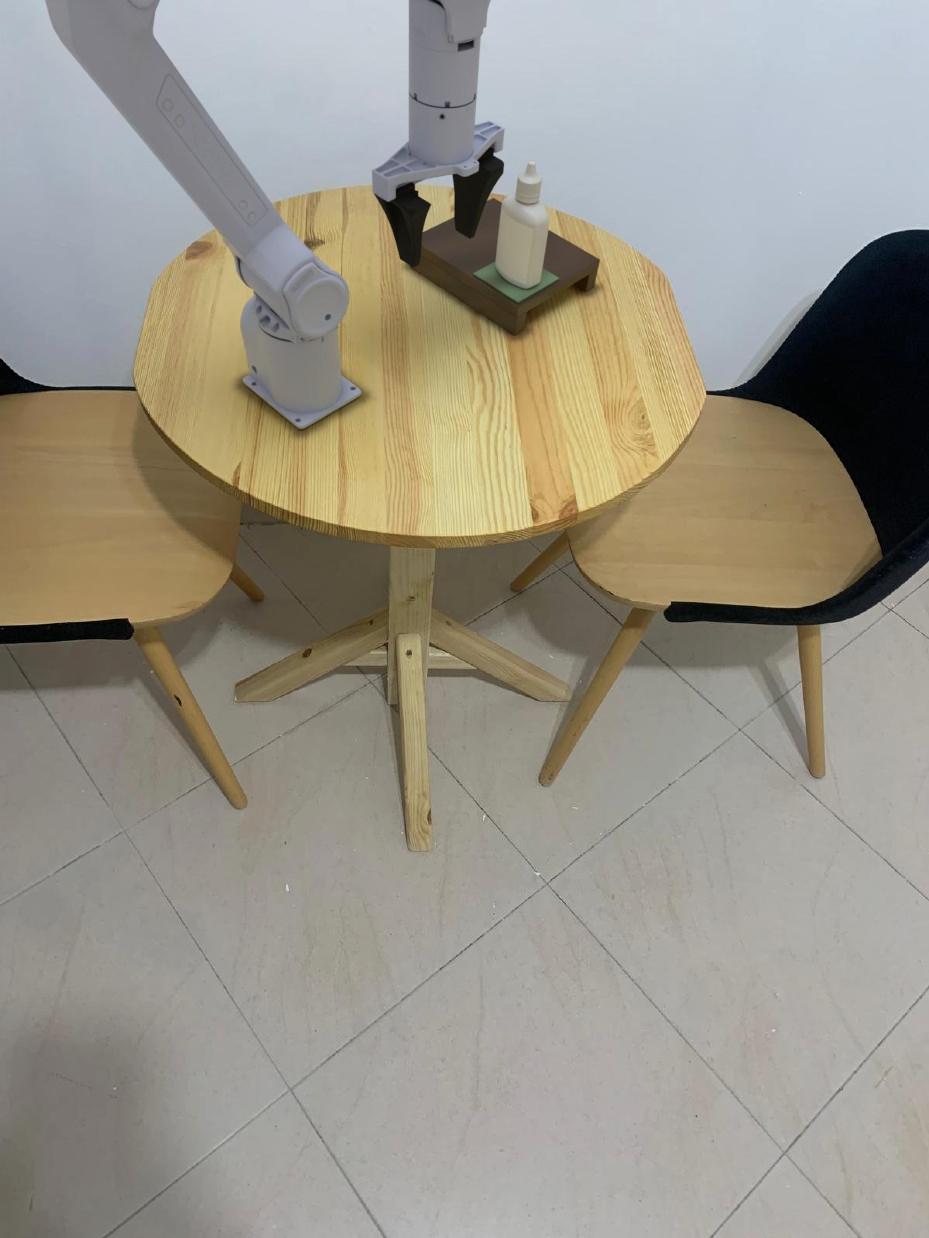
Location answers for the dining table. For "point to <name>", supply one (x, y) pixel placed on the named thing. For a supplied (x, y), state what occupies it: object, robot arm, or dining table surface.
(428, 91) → the robot arm
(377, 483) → the dining table surface
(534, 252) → the eye dropper bottle
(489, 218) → the shelf
